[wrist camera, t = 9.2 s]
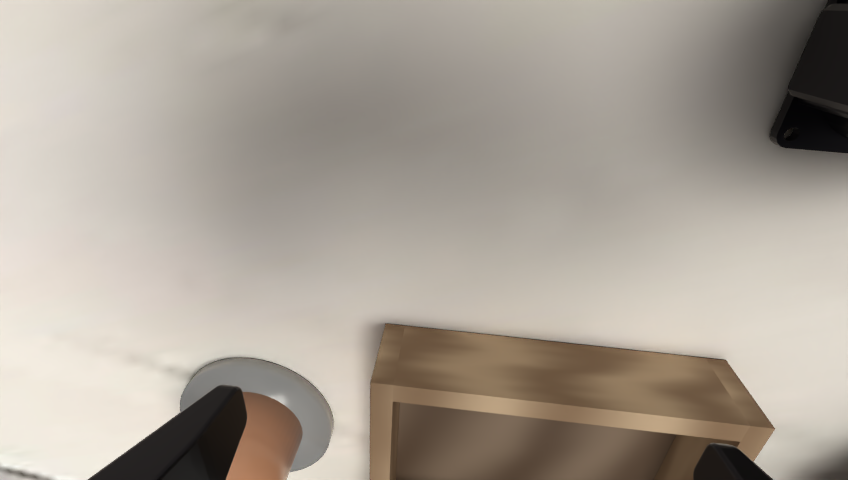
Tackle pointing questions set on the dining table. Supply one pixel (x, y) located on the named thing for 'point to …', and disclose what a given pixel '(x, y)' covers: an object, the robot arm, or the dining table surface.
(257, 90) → the dining table surface
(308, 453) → the saucer
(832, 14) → the robot arm
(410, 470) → the box
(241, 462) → the tan cylinder
